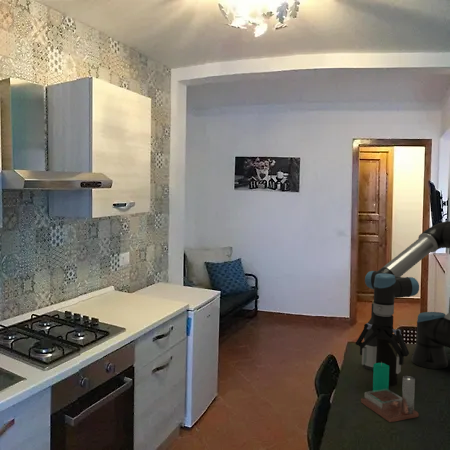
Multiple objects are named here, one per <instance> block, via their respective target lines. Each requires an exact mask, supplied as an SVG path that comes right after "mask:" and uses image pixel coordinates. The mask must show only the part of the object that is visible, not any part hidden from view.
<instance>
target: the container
mask: <svg viewBox="0 0 450 450" xmlns="http://www.w3.org/2000/svg"><path fill="white" fill-rule="evenodd" d="M392 335H393V337H394V339H395V341H396V342H397V344H398V345H399V342H398V340H397V337H396V335H395V333H392ZM376 339H377V352H376V363H381V361H382V363H384V364H386V365H389V387H390V386H391V387H392V386H395V385H397V383H398V374H397V373H396V362H397V356H398V354H397V352H396V351H395V349H394V348H393V346H392V345H391V343H390V342H389V341H388V340H387V339H382V338H377V337H376Z"/></svg>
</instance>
